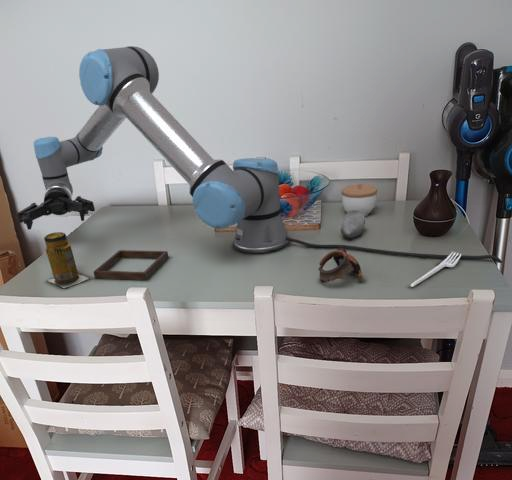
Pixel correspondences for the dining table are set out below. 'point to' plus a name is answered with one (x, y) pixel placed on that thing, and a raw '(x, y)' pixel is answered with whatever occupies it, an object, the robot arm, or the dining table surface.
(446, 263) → the fork
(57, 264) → the condiment
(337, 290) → the dining table surface
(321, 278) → the brown curved ring piece
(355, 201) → the trinket box
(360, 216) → the grey oval rock
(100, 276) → the caddy
